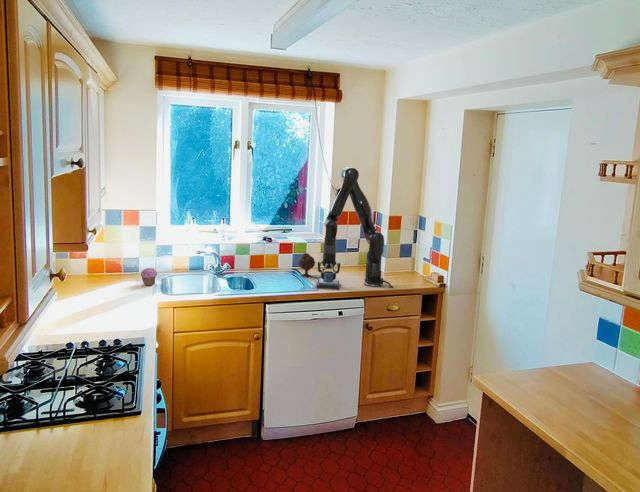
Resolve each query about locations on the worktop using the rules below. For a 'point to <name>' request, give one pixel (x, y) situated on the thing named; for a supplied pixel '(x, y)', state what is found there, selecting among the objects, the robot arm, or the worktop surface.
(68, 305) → the worktop surface
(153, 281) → the cupcake
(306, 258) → the miniature tree
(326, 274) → the dip bowl
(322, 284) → the scale
